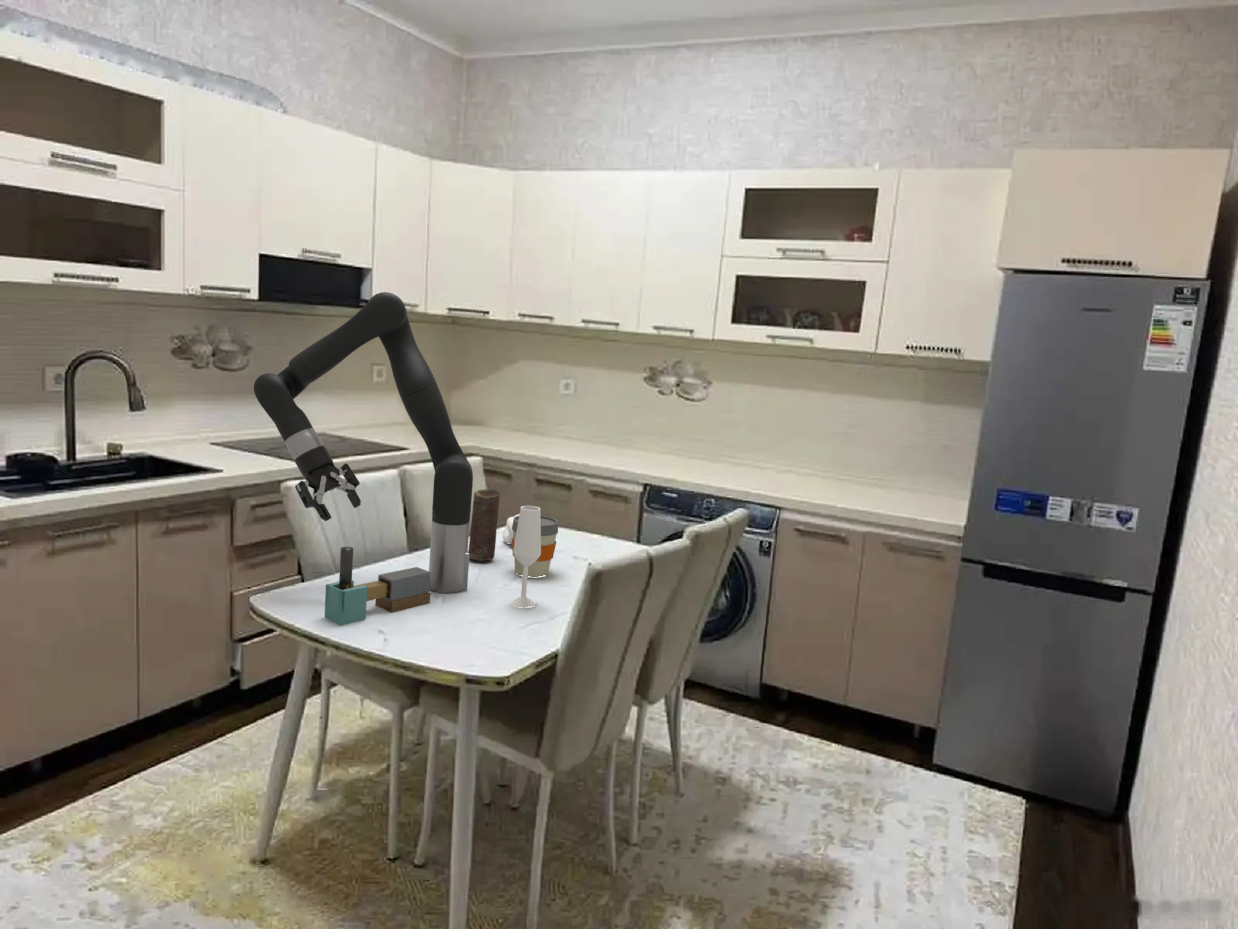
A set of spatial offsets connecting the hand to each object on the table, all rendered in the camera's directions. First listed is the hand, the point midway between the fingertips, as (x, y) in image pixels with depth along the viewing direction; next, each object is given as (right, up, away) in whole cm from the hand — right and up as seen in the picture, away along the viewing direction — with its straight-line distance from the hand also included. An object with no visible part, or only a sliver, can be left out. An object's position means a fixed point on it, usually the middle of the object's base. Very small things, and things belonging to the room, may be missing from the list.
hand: (343, 513), depth 198 cm
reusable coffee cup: (+40, -19, +35) cm, 57 cm away
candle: (+25, -16, +43) cm, 52 cm away
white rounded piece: (+33, -14, +63) cm, 72 cm away
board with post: (+7, -19, -7) cm, 21 cm away
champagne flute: (+40, -23, +10) cm, 48 cm away
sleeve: (+13, -21, +2) cm, 25 cm away
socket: (+4, -23, -10) cm, 25 cm away
